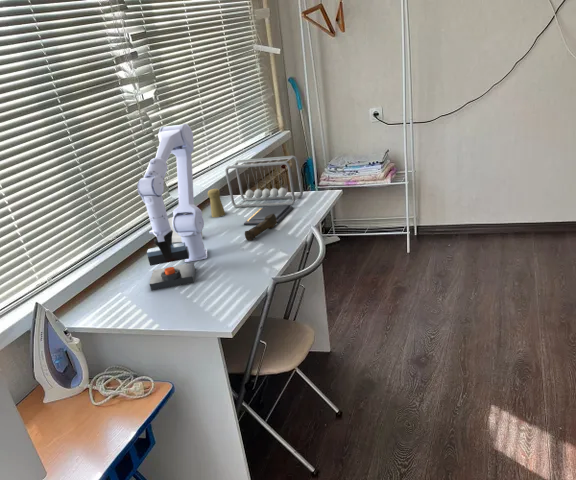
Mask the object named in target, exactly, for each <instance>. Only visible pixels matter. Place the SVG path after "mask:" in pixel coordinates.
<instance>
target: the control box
mask: <svg viewBox="0 0 576 480" xmlns="http://www.w3.org/2000/svg"><path fill="white" fill-rule="evenodd" d="M169 267H170V266H169ZM169 267H162V268H158V269H153V270H152V273H151V277H150V279H149V287H150V291H151V292H154V291H159V290H165V289H170V288H175V287H180V286H181V287H182V286H185V285H191V284H195V276H196V266H195V262H188V263H185V264H179V265H173V266H172V267H174V269H175V273H173V274H170V275H166V274H165V269H166V268H169Z"/></svg>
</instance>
